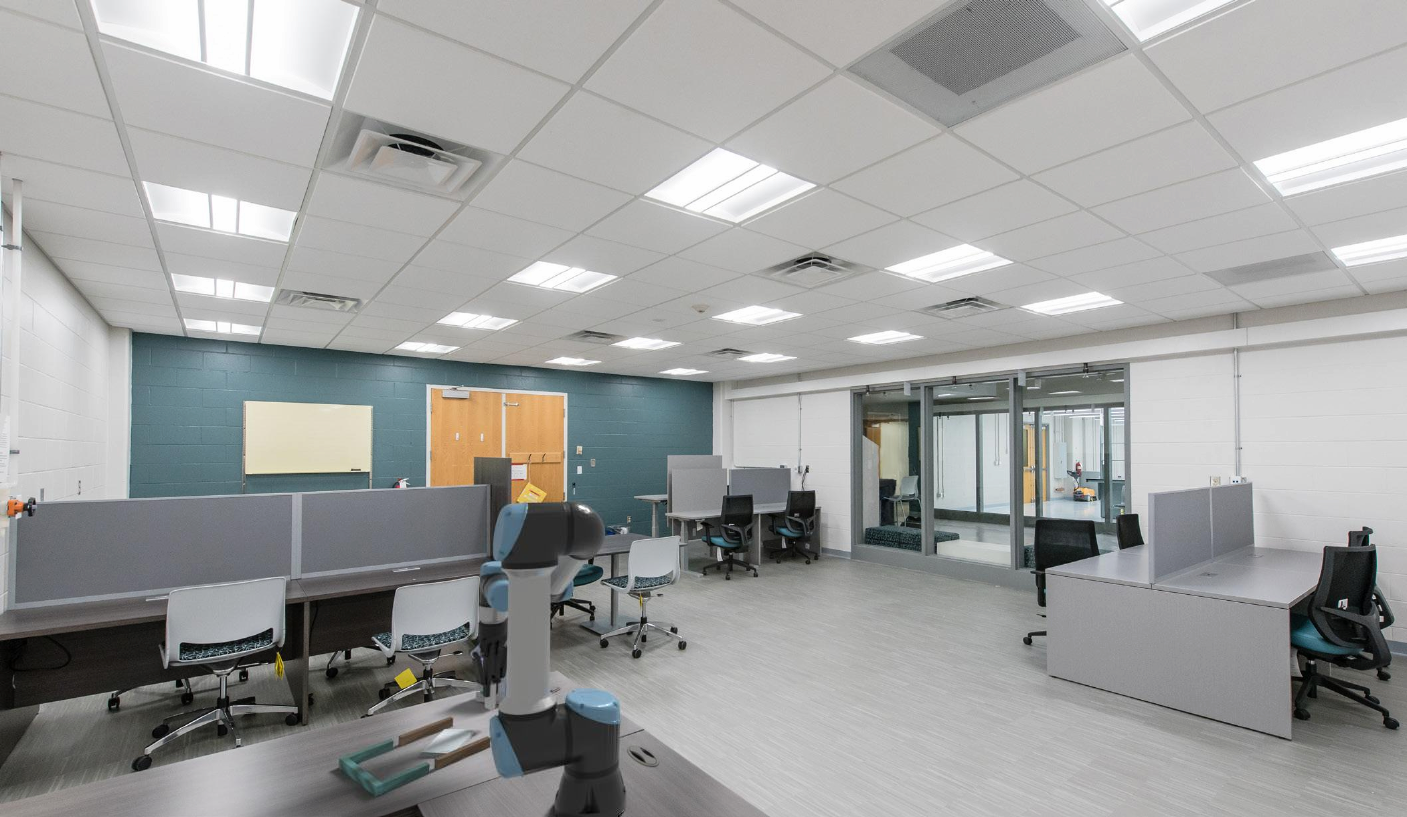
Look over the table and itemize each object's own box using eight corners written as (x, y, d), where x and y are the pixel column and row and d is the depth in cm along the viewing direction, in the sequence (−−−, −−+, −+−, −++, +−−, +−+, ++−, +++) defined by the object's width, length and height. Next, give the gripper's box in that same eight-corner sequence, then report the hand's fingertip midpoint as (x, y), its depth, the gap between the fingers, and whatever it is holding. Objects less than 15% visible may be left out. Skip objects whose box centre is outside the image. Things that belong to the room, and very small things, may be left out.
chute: (490, 746, 154) (490, 737, 154) (375, 797, 132) (376, 786, 132) (450, 724, 166) (450, 716, 166) (338, 767, 144) (339, 758, 144)
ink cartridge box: (514, 697, 184) (516, 648, 184) (505, 705, 178) (506, 655, 179) (485, 694, 186) (486, 646, 186) (474, 702, 180) (476, 652, 181)
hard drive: (452, 753, 149) (473, 729, 161) (419, 752, 149) (443, 728, 162) (451, 760, 149) (473, 735, 161) (419, 759, 149) (443, 734, 162)
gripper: (505, 611, 174) (502, 695, 173) (463, 622, 163) (460, 711, 162) (521, 617, 169) (518, 703, 168) (479, 628, 159) (476, 720, 158)
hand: (490, 707), depth 165 cm, fingers closed
